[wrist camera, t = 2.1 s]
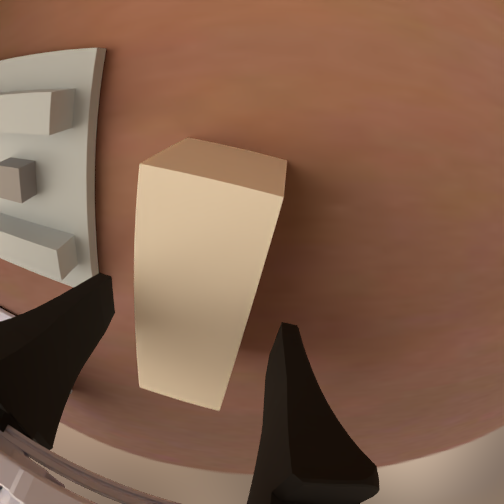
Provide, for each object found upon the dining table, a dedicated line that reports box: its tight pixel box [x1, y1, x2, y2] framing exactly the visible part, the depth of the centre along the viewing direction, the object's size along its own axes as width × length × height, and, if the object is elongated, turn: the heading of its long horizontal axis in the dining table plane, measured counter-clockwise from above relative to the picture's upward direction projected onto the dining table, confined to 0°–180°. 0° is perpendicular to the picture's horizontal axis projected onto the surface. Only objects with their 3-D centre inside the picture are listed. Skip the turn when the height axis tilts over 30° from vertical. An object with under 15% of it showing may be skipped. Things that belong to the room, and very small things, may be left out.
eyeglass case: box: [134, 137, 287, 411], centre depth 14 cm, size 12×4×5 cm, turn 168°
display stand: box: [0, 48, 106, 287], centre depth 14 cm, size 14×10×3 cm
